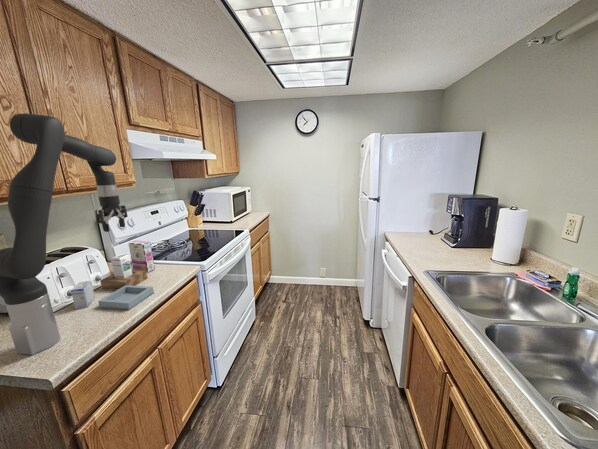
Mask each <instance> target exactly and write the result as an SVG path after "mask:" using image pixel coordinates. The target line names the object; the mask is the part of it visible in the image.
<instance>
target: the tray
mask: <svg viewBox="0 0 598 449" xmlns="http://www.w3.org/2000/svg"><path fill="white" fill-rule="evenodd" d="M154 293H155V291H154V287H153V286H143V285H136V286H131V285H125V286H124V287H122V288H120V289H118V290H114V291H113V292H111V293H109V294H107V295H106V296H104V297H103V298H101V299H99V300H98V301H97V302H98V306H99V308H100V309H101V308H102V309H112V310H113V309H114V310H127V311H130V310H132V309H133V308H135V307H136V306H137V305H139V304H141V303H142V302H144V300H146V299H147V298H149V297H150V296H152V295H153V294H154Z"/></svg>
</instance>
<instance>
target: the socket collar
mask: <svg viewBox="0 0 598 449" xmlns="http://www.w3.org/2000/svg"><path fill="white" fill-rule="evenodd" d="M133 272H134V274H133V275H131V276H129V277H127V278H125V279H121V278H115V276H114V273H112V274H110V275H108V276H107V277H106V276H105V277H104V278H102V279H100V280H99V282H100V285H101V290H113V291H117V290H118V289H120V288H122V287H124V286H125V285H131V286H138V285H139V284H140V283H142V282H144V281H146V280H147V279H149V277H148V273H147V271H146V270H134V269H133Z"/></svg>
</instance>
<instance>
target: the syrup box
mask: <svg viewBox="0 0 598 449" xmlns="http://www.w3.org/2000/svg"><path fill="white" fill-rule="evenodd" d="M110 261H111V266H112V270H113V274H114V276H115V278H121V279H125V278H127V277H129V276H131V275H133V274H134V272H133V266H132V260H131V254H127V253H123V254H122V253H120V254H118V255H115V256H113V257H110Z"/></svg>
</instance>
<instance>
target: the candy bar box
mask: <svg viewBox="0 0 598 449" xmlns="http://www.w3.org/2000/svg"><path fill="white" fill-rule="evenodd" d="M151 243H152V242H151V241H145V240H144V241H143V240H134V241H131V242H128V248H129V255H130V257H131V262H132V267H133V269H134V270H146V271H147V274H148V273H150V272H153V271H155V270H156V267H155V263H154V262H155V261H154V256H153V249H152V244H151Z"/></svg>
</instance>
